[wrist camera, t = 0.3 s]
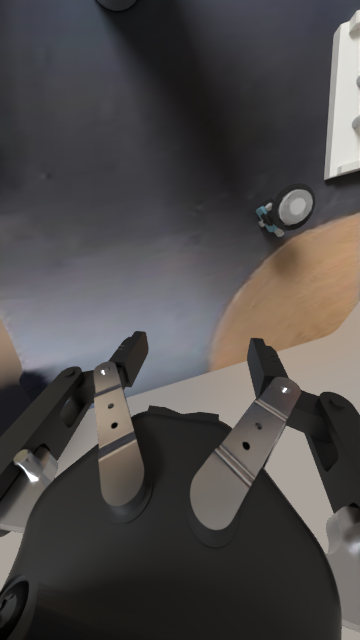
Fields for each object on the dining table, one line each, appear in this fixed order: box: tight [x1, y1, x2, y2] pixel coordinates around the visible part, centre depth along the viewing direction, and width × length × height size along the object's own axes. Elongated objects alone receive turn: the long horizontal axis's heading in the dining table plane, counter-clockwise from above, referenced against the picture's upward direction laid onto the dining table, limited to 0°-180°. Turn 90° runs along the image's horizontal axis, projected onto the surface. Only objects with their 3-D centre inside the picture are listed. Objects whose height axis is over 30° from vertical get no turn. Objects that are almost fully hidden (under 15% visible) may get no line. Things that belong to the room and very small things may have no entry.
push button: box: [256, 184, 315, 237], centre depth 27 cm, size 7×5×10 cm
